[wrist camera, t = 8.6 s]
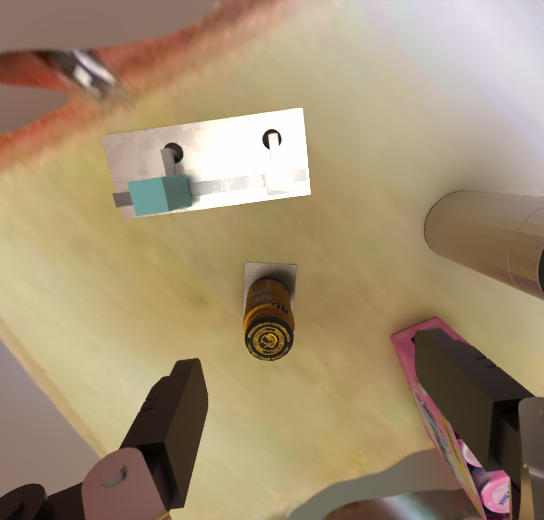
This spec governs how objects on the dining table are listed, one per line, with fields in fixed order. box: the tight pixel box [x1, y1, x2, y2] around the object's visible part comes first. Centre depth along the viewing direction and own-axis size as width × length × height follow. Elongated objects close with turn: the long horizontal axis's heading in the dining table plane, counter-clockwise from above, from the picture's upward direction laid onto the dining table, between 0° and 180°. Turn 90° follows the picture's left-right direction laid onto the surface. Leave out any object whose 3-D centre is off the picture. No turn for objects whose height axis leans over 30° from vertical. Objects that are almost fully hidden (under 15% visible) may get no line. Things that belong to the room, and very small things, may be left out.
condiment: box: [243, 262, 297, 361], centre depth 36 cm, size 7×8×12 cm
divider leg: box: [127, 148, 193, 216], centre depth 30 cm, size 3×7×11 cm, turn 8°
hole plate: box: [101, 108, 310, 220], centre depth 34 cm, size 24×10×6 cm, turn 97°
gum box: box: [391, 317, 510, 520], centre depth 41 cm, size 24×8×14 cm, turn 25°
